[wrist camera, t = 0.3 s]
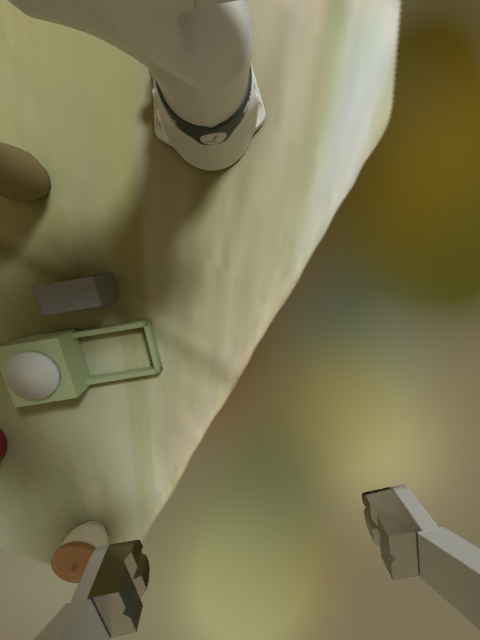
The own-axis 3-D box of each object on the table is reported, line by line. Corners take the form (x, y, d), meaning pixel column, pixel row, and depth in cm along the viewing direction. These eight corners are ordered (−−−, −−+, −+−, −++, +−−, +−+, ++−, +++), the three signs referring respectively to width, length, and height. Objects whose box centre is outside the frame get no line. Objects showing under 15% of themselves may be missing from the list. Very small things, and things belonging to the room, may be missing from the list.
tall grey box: (60, 281, 53) (32, 286, 46) (112, 272, 53) (92, 276, 46) (68, 306, 55) (42, 315, 47) (119, 298, 55) (101, 306, 47)
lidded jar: (122, 521, 68) (105, 564, 59) (106, 552, 70) (88, 598, 61) (79, 507, 66) (55, 548, 57) (64, 539, 68) (39, 583, 59)
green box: (15, 338, 56) (-15, 351, 49) (149, 316, 56) (138, 325, 49) (36, 392, 59) (10, 411, 52) (163, 371, 59) (154, 387, 52)
